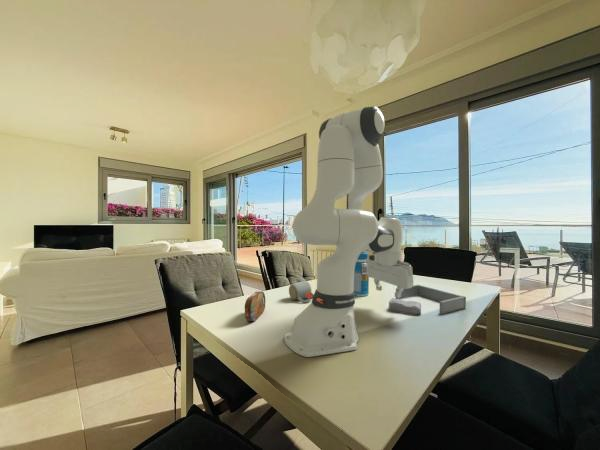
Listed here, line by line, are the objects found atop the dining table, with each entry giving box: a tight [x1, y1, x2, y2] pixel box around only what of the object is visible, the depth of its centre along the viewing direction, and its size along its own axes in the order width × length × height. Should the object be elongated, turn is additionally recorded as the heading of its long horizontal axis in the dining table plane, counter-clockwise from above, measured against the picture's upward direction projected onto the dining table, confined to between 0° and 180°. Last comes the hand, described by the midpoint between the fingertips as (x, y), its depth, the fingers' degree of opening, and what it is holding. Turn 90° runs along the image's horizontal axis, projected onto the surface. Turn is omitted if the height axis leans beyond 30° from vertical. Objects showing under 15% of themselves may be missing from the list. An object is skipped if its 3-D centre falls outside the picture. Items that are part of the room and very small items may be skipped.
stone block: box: [388, 297, 422, 316], centre depth 106 cm, size 12×5×10 cm
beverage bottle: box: [353, 251, 370, 297], centre depth 127 cm, size 8×8×20 cm
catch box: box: [395, 284, 467, 315], centre depth 114 cm, size 15×22×4 cm
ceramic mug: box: [288, 280, 313, 304], centre depth 117 cm, size 11×8×8 cm
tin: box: [244, 291, 266, 322], centre depth 97 cm, size 15×3×8 cm, turn 168°
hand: (387, 293), depth 103 cm, fingers open, 8 cm apart
